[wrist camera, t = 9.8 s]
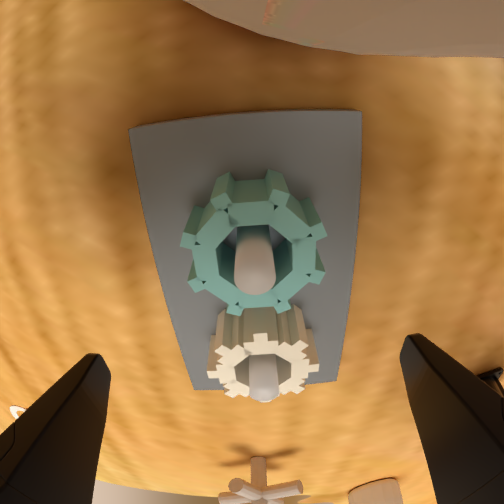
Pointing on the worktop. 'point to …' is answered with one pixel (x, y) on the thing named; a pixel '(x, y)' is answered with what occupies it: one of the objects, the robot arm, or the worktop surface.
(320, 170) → the gear board
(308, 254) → the teal gear
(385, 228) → the worktop surface
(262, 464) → the pipe connector
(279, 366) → the cream gear
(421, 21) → the citrus juicer
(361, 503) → the soap bottle
